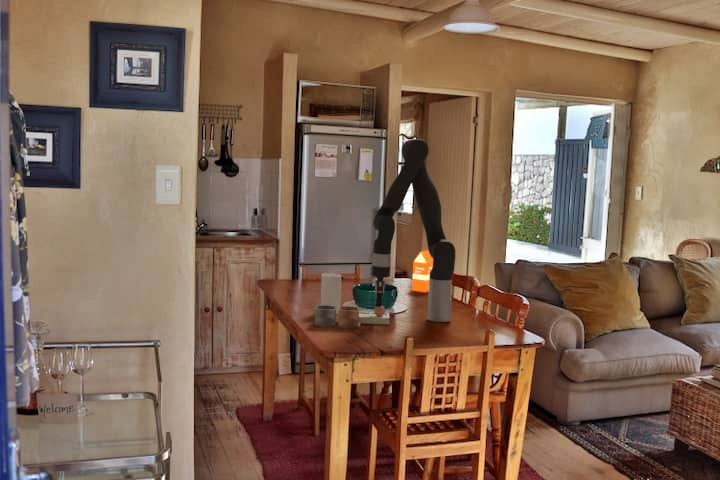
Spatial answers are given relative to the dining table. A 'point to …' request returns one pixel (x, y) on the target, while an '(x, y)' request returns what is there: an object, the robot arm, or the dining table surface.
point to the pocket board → (373, 318)
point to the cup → (331, 290)
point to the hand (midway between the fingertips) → (378, 304)
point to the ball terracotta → (379, 311)
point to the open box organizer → (346, 319)
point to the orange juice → (422, 271)
